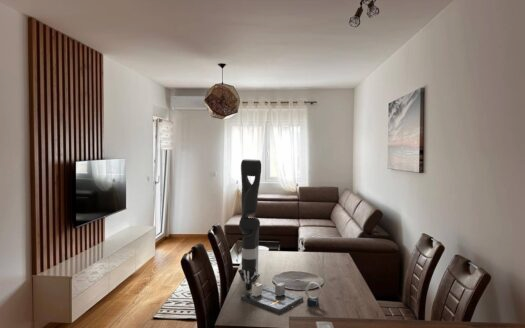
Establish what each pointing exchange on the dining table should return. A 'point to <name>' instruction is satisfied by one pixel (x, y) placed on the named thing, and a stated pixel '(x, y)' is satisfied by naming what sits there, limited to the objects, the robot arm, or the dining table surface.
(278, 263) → the dining table surface
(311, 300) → the watch
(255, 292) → the fader white
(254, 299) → the panel
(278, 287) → the fader grey
